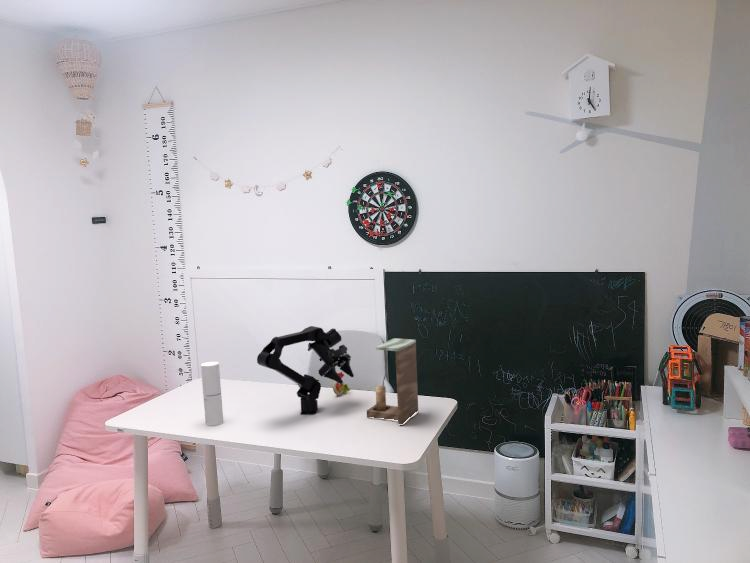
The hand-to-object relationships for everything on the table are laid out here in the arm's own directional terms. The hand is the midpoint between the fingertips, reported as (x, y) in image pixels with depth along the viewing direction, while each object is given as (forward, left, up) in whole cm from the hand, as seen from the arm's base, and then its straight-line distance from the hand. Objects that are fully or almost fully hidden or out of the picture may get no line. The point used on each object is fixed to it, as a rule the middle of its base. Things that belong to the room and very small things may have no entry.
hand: (347, 379), depth 255 cm
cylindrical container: (-55, -8, -14) cm, 58 cm away
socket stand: (+18, -9, -14) cm, 24 cm away
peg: (+14, -7, -14) cm, 21 cm away
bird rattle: (-5, +23, -14) cm, 27 cm away
